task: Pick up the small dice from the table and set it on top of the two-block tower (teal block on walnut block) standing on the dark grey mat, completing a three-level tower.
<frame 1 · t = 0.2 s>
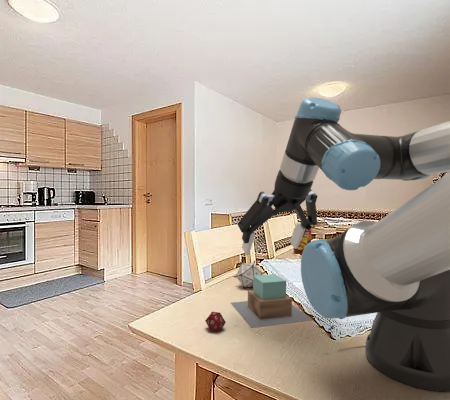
hand: (270, 248, 76), 15 cm above the table, tool tilted 35°, fingers open, 13 cm apart
mid block: (269, 294, 75), point 4 cm above the table, touching base block
game die: (249, 288, 94), on the table
base block: (268, 310, 75), resting on mat, touching mid block
mat: (268, 312, 75), on the table
dice: (215, 331, 65), on the table
canned food: (302, 254, 142), on the table
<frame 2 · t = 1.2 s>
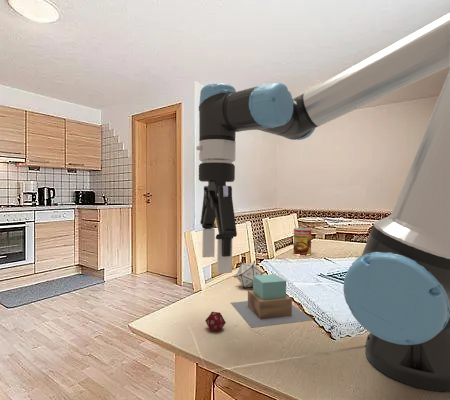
hand: (215, 264, 65), 14 cm above the table, tool pointing down, fingers open, 13 cm apart
nothing on the table moved.
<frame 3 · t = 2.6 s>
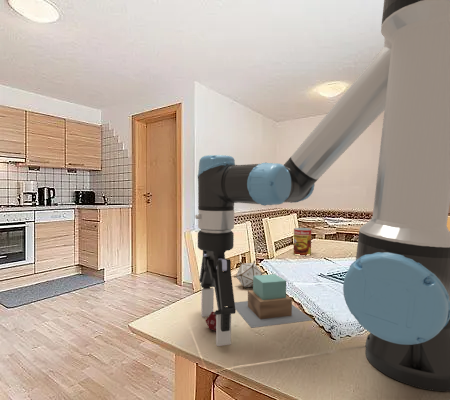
hand: (214, 329, 65), 0 cm above the table, tool pointing down, fingers open, 13 cm apart
nothing on the table moved.
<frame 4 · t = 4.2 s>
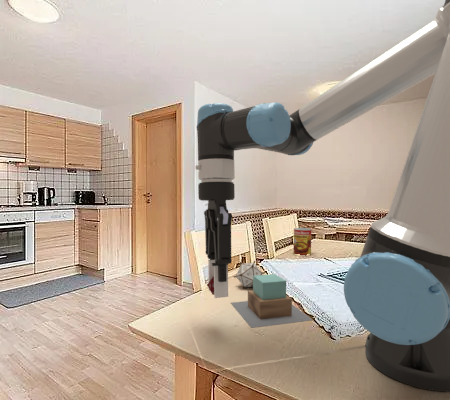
hand: (218, 292, 64), 8 cm above the table, tool pointing down, fingers closed on dice, 4 cm apart
dice: (217, 295, 64), point 8 cm above the table, touching gripper
everything else where it was.
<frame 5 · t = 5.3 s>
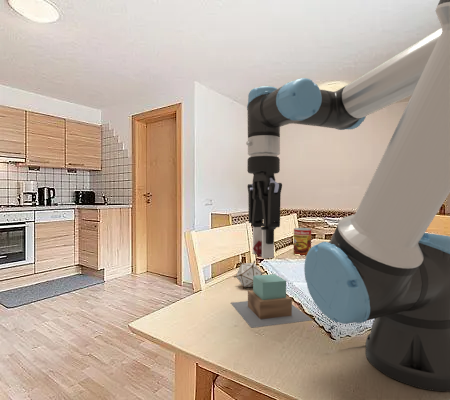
hand: (262, 255, 73), 14 cm above the table, tool pointing down, fingers closed on dice, 4 cm apart
dice: (262, 257, 72), point 14 cm above the table, touching gripper
everything else where it was.
when the fingers open (9 cm above the table, at t = 6.8 s): dice stays where it is, resting on mid block.
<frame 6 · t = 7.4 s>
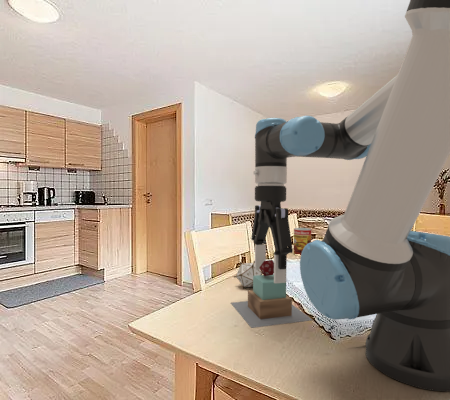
hand: (269, 275, 75), 9 cm above the table, tool pointing down, fingers open, 11 cm apart
mid block: (269, 294, 75), point 4 cm above the table, touching base block, dice
dice: (268, 277, 75), point 9 cm above the table, touching mid block
everything else where it was.
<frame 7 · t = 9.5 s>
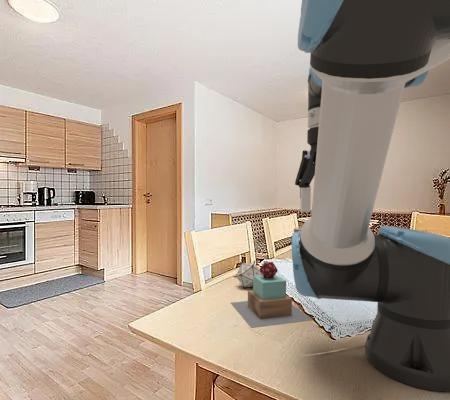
hand: (321, 213, 76), 24 cm above the table, tool pointing down, fingers open, 13 cm apart
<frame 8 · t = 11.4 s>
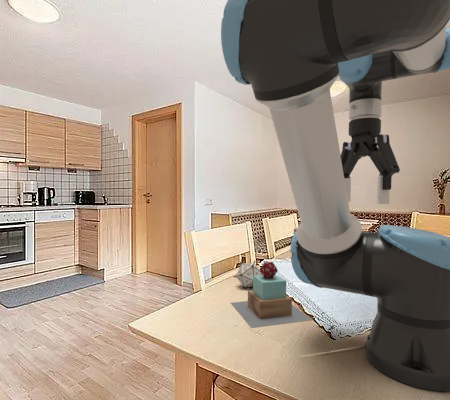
hand: (362, 202, 79), 27 cm above the table, tool pointing down, fingers open, 13 cm apart
nothing on the table moved.
at the end: dice 0.2 cm off-centre on the mid block, point 3.8 cm above the mid block's base; mid block 0.0 cm off-centre on the base block, point 4.0 cm above the base block's base; the gripper is holding nothing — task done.
